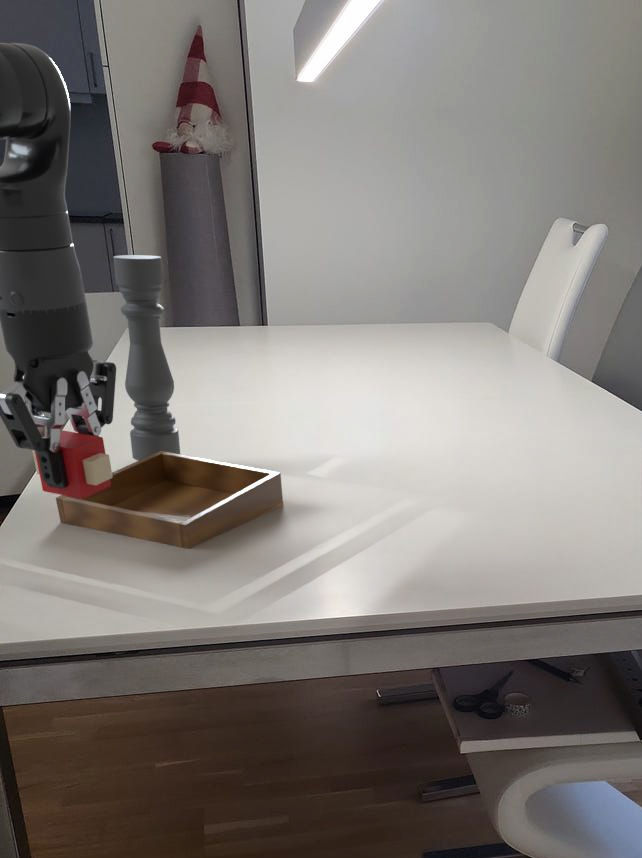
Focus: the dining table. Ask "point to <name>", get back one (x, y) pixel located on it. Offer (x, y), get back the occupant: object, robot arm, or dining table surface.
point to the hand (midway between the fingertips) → (74, 478)
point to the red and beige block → (81, 465)
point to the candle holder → (146, 356)
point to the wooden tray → (176, 499)
